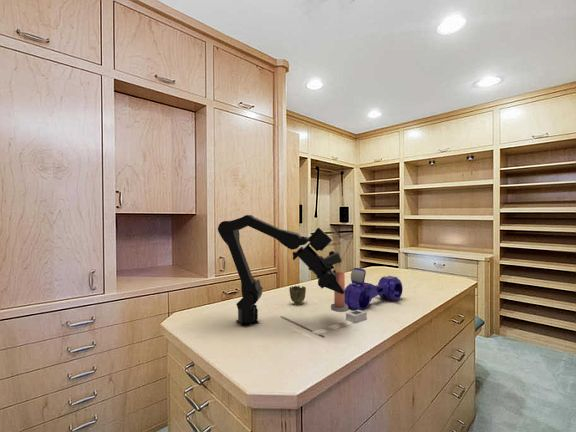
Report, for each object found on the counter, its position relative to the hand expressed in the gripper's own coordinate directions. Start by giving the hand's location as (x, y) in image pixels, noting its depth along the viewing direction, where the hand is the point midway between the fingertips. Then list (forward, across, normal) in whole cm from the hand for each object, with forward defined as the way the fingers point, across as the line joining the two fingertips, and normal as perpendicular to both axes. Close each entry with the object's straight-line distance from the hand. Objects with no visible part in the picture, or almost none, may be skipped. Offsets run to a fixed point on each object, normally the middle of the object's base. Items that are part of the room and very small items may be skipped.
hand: (343, 291), depth 103 cm
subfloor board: (+5, +6, +13) cm, 16 cm away
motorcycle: (+20, +30, -1) cm, 36 cm away
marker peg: (+4, 0, +5) cm, 6 cm away
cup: (-4, +23, +23) cm, 33 cm away
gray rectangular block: (+12, +6, +5) cm, 14 cm away
